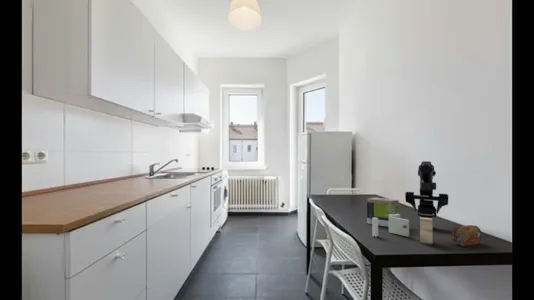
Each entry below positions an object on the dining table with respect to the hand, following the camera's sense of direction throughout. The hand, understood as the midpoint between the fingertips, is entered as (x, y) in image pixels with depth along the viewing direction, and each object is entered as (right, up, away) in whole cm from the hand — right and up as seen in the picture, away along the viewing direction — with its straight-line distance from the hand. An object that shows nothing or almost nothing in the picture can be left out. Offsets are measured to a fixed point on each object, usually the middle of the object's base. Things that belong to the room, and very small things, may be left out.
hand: (426, 212), depth 145 cm
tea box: (-9, -14, +30) cm, 34 cm away
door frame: (-14, -13, +11) cm, 22 cm away
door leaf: (-10, -13, +7) cm, 18 cm away
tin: (+14, -13, -8) cm, 21 cm away
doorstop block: (-3, -13, -6) cm, 14 cm away
